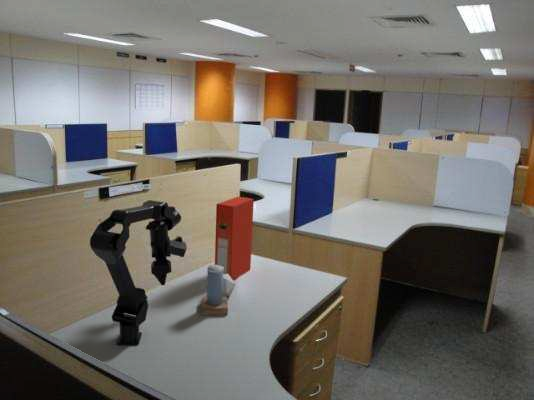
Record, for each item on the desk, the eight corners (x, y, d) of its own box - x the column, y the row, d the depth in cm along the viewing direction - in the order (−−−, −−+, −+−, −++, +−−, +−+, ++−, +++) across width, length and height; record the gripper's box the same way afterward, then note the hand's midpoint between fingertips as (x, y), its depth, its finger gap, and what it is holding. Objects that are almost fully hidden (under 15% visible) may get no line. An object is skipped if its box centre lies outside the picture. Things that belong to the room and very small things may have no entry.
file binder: (213, 278, 185) (216, 203, 178) (234, 265, 200) (237, 196, 193) (230, 282, 181) (234, 206, 174) (250, 269, 197) (254, 199, 189)
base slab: (227, 314, 155) (227, 308, 154) (201, 314, 154) (201, 308, 153) (226, 303, 164) (227, 296, 163) (202, 303, 163) (202, 296, 162)
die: (229, 290, 176) (215, 270, 174) (243, 287, 169) (228, 266, 168) (216, 304, 170) (201, 284, 168) (230, 301, 164) (214, 280, 162)
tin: (225, 304, 157) (226, 269, 154) (210, 307, 154) (211, 272, 151) (218, 297, 162) (219, 264, 159) (204, 300, 159) (204, 266, 156)
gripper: (185, 248, 139) (188, 290, 145) (182, 222, 156) (185, 261, 162) (149, 251, 137) (153, 294, 143) (150, 225, 153) (154, 264, 160)
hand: (163, 277), depth 152 cm, fingers open, 9 cm apart
